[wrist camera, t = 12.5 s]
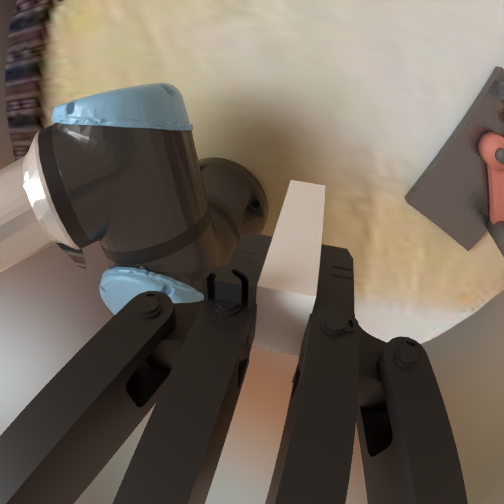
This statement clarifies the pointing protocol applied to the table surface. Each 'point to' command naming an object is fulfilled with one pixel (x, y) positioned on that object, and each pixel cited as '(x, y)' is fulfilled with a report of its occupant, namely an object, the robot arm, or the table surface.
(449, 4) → the table surface
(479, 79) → the table surface
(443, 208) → the base
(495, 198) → the lever
